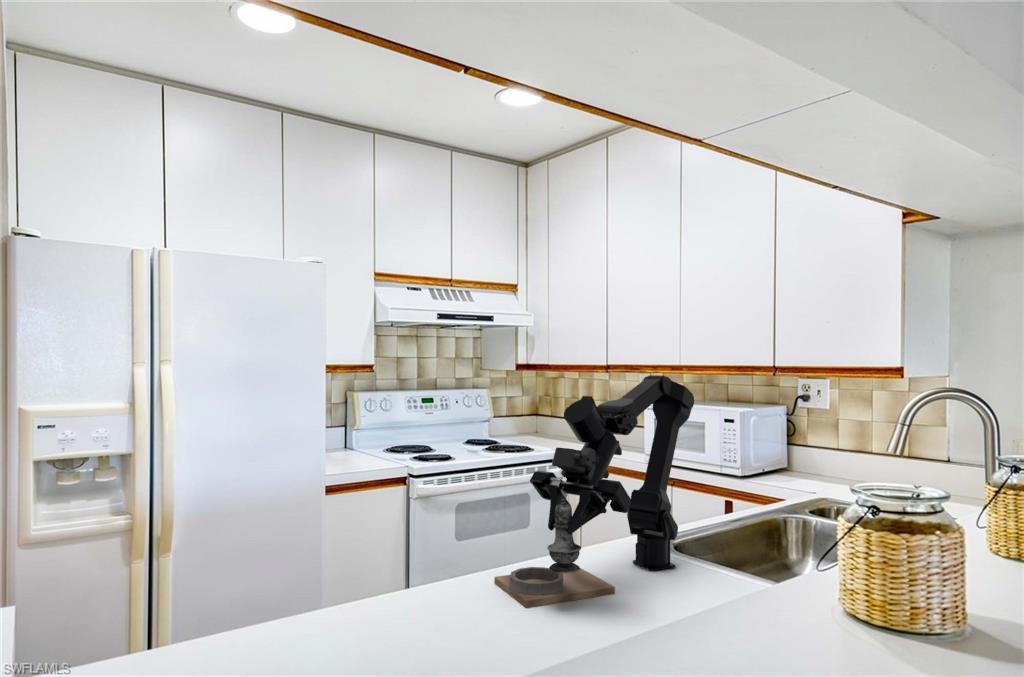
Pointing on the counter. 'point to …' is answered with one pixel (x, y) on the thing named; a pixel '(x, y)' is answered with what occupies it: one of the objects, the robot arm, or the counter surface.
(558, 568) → the salt shaker
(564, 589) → the board
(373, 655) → the counter surface
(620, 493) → the robot arm
